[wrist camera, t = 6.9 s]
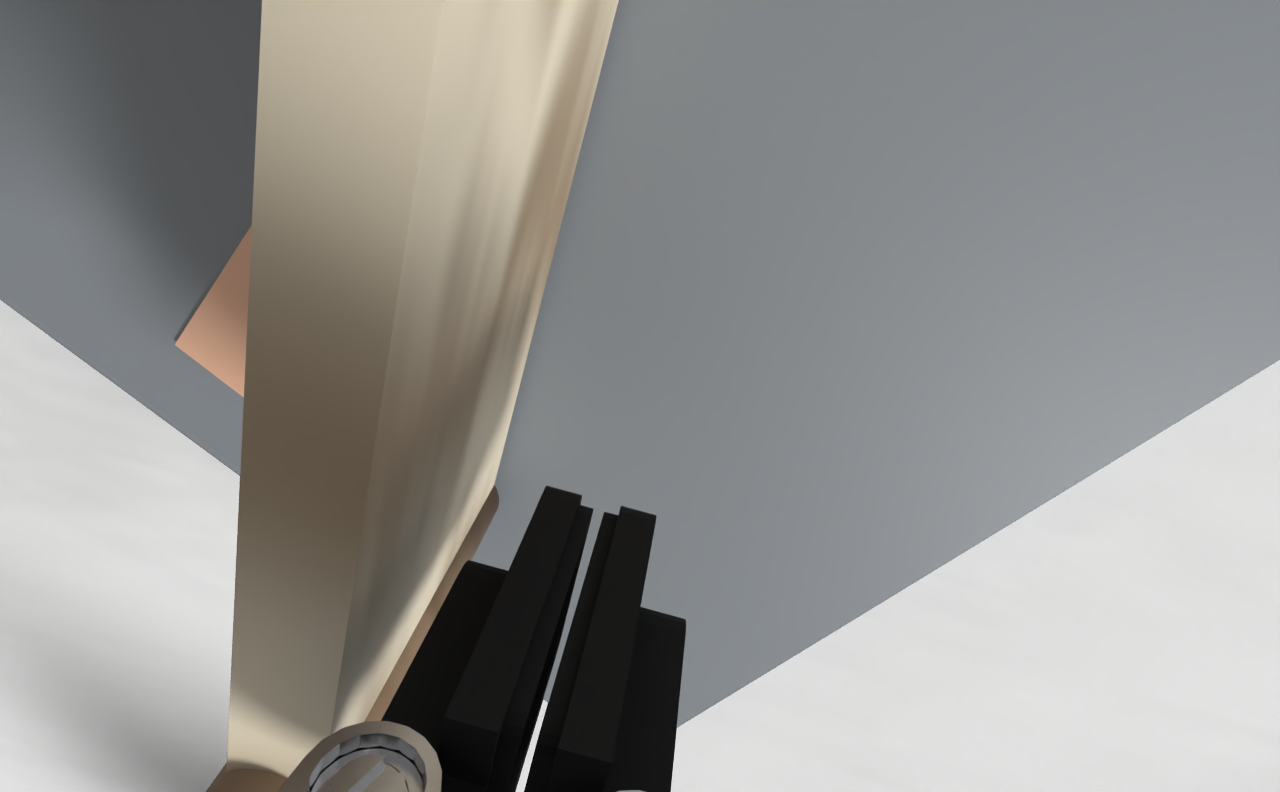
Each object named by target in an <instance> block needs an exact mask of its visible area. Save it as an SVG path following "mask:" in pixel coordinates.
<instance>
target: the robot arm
mask: <svg viewBox="0 0 1280 792" xmlns="http://www.w3.org/2000/svg"><path fill="white" fill-rule="evenodd" d="M581 500H582V495H580V494H576V493H572V492H569V491H565V490H561V489H558V488H554V487H550V486H546V487H545V489H544V491H543V493H542V495H541V498H540V500H539V502H538V504H537V507H536V509H535V511H534V514H533V516H532V518H531V520H530V523H529V525H528V527H527V530H526V532H525V534H524V536H523V539H522V541H521V543H520V545H519V548H518V550H517V552H516V555H515V557H514V559H513V561H512V564H511V566H510V568H509V571H507V570H504V569H500V568H496V567H493V566H489V565H485V564H482V563H478V562H474V561H471V560H468V561H467V562H466V563H465V564H464V565H463V567H462V569H461V570H460V572H459V574H458V576H457V578H456V580H455V581H454V583H453V585H452V587H451V589H450V591H449V593H448V595H447V597H446V598H445V600H444V602H443V604H442V606H441V608H440V610H439V612H438V614H437V615H436V617H435V619H434V621H433V623H432V625H431V627H430V629H429V631H428V633H427V634H426V636H425V638H424V640H423V642H422V644H421V646H420V648H419V650H418V651H417V653H416V655H415V657H414V659H413V661H412V663H411V665H410V667H409V669H408V670H407V672H406V674H405V676H404V678H403V680H402V682H401V684H400V686H399V687H398V689H397V691H396V693H395V695H394V697H393V699H392V701H391V703H390V704H389V706H388V708H387V710H386V712H385V714H384V716H383V718H382V720H381V721H365V722H362V723H358V724H355V725H351V726H347V727H344V728H342V729H340V730H338V731H337V732H335V733H333V734H331V735H329V736H328V737H326V738H324V739H323V740H322V741H321V742H319V743H318V744H317V745H316V746H315V747H314V748H313V749H312V750H311V751H310V752H309V753H308V754H307V755H306V756H305V757H304V758H303V760H302V761H301V762H300V763H299V765H298V766H297V767H296V768H295V770H294V771H293V772H292V773H291V774H290V776H289V777H288V778H287V779H286V781H285V782H284V783H283V784H282V786H281V787H280V788H279V789H278V791H277V792H515V791H516V788H517V784H518V781H519V778H520V774H521V771H522V768H523V764H524V761H525V758H526V754H527V751H528V748H529V745H530V741H531V738H532V735H533V731H534V728H535V725H536V721H537V718H538V715H539V711H540V708H541V705H542V702H543V698H544V695H545V692H546V688H547V685H548V682H549V678H550V675H551V672H552V668H553V665H554V662H555V658H556V655H557V651H558V648H559V644H560V640H561V637H562V633H563V629H564V625H565V621H566V617H567V613H568V609H569V605H570V601H571V597H572V593H573V589H574V585H575V581H576V577H577V573H578V570H579V566H580V562H581V558H582V554H583V550H584V546H585V542H586V538H587V534H588V530H589V526H590V522H591V518H592V514H593V510H594V509H593V508H589V507H586V506H582V505H581ZM656 517H657V516H656V515H654V514H650V513H646V512H643V511H639V510H635V509H632V508H628V507H624V506H621V507H620V511H619V515H615V514H612V513H608V512H604V514H603V517H602V521H601V524H600V527H599V531H598V534H597V538H596V541H595V545H594V548H593V551H592V555H591V558H590V562H589V565H588V569H587V572H586V575H585V579H584V582H583V586H582V589H581V593H580V596H579V599H578V603H577V606H576V610H575V613H574V617H573V620H572V623H571V627H570V630H569V634H568V637H567V641H566V644H565V647H564V651H563V654H562V658H561V661H560V665H559V668H558V671H557V675H556V678H555V682H554V685H553V688H552V692H551V695H550V699H549V702H548V706H547V709H546V712H545V716H544V719H543V723H542V726H541V730H540V734H539V737H538V741H537V745H536V748H535V752H534V756H533V760H532V763H531V767H530V771H529V775H528V779H527V783H526V787H525V791H524V792H670V791H671V780H672V770H673V760H674V750H675V739H676V729H677V719H678V708H679V698H680V688H681V678H682V667H683V657H684V647H685V636H686V619H683V618H680V617H676V616H672V615H669V614H665V613H661V612H658V611H654V610H650V609H647V608H643V607H641V601H642V596H643V590H644V584H645V579H646V573H647V568H648V562H649V557H650V551H651V546H652V540H653V535H654V529H655V524H656Z"/></svg>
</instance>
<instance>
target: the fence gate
mask: <svg viewBox="0 0 1280 792" xmlns="http://www.w3.org/2000/svg"><path fill="white" fill-rule="evenodd" d="M618 1H619V0H262V14H261V36H260V57H259V79H258V101H257V122H256V144H255V166H254V187H253V209H252V231H251V253H250V274H249V296H248V318H247V339H246V361H245V383H244V404H243V426H242V448H241V470H240V491H239V513H238V535H237V556H236V578H235V600H234V621H233V643H232V665H231V687H230V708H229V730H228V752H227V763H226V764H225V766H224V767H223V769H222V770H221V771H220V773H219V774H218V776H217V777H216V778H215V780H214V781H213V783H212V784H211V786H210V787H209V788H208V790H207V791H206V792H277V791H278V789H279V788H280V787H281V786H282V784H283V783H284V782H285V781H286V779H287V778H288V777H289V776H290V774H291V773H292V772H293V771H294V770H295V768H296V767H297V766H298V765H299V763H300V762H301V761H302V760H303V758H304V757H305V756H306V755H307V754H308V753H309V752H310V751H311V750H312V749H313V748H314V747H315V746H316V745H317V744H318V743H319V742H321V741H322V740H323V739H324V738H326V737H328V736H329V735H331V734H333V733H335V732H337V731H338V730H340V729H342V728H344V727H347V726H351V725H355V724H358V723H362V722H365V721H381V720H382V718H383V716H384V714H385V712H386V710H387V708H388V706H389V704H390V703H391V701H392V699H393V697H394V695H395V693H396V691H397V689H398V687H399V686H400V684H401V682H402V680H403V678H404V676H405V674H406V672H407V670H408V669H409V667H410V665H411V663H412V661H413V659H414V657H415V655H416V653H417V651H418V650H419V648H420V646H421V644H422V642H423V640H424V638H425V636H426V634H427V633H428V631H429V629H430V627H431V625H432V623H433V621H434V619H435V617H436V615H437V614H438V612H439V610H440V608H441V606H442V604H443V602H444V600H445V598H446V597H447V595H448V593H449V591H450V589H451V587H452V585H453V583H454V581H455V580H456V578H457V576H458V574H459V572H460V570H461V569H462V567H463V565H464V564H465V563H466V562H467V561H468V560H472V558H473V556H474V554H475V552H476V550H477V549H478V547H479V545H480V543H481V541H482V539H483V537H484V535H485V533H486V531H487V529H488V527H489V525H490V523H491V521H492V519H493V517H494V515H495V513H496V512H497V509H498V506H499V495H498V491H497V489H496V486H495V485H494V484H495V480H496V476H497V472H498V468H499V464H500V460H501V457H502V453H503V449H504V445H505V441H506V437H507V433H508V429H509V425H510V422H511V418H512V414H513V410H514V406H515V402H516V398H517V394H518V390H519V387H520V383H521V379H522V375H523V371H524V367H525V363H526V359H527V355H528V352H529V348H530V344H531V340H532V336H533V332H534V328H535V324H536V320H537V317H538V313H539V309H540V305H541V301H542V297H543V293H544V289H545V285H546V281H547V278H548V274H549V270H550V266H551V262H552V258H553V254H554V250H555V246H556V243H557V239H558V235H559V231H560V227H561V223H562V219H563V215H564V211H565V208H566V204H567V200H568V196H569V192H570V188H571V184H572V180H573V176H574V173H575V169H576V165H577V161H578V157H579V153H580V149H581V145H582V141H583V138H584V134H585V130H586V126H587V122H588V118H589V114H590V110H591V106H592V103H593V99H594V95H595V91H596V87H597V83H598V79H599V75H600V71H601V67H602V64H603V60H604V56H605V52H606V48H607V44H608V40H609V36H610V32H611V29H612V25H613V21H614V17H615V13H616V9H617V5H618Z"/></svg>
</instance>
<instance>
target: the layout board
mask: <svg viewBox="0 0 1280 792" xmlns="http://www.w3.org/2000/svg"><path fill="white" fill-rule="evenodd" d="M261 14H262V0H0V300H1V301H3V302H4V303H6V304H7V305H8V306H10V307H11V308H12V309H14V310H15V311H16V312H18V313H19V314H20V315H22V316H23V317H25V318H26V319H27V320H29V321H30V322H31V323H33V324H34V325H35V326H37V327H38V328H40V329H41V330H42V331H44V332H45V333H46V334H48V335H49V336H50V337H52V338H53V339H54V340H56V341H57V342H59V343H60V344H61V345H63V346H64V347H65V348H67V349H68V350H69V351H71V352H72V353H74V354H75V355H76V356H78V357H79V358H80V359H82V360H83V361H84V362H86V363H87V364H88V365H90V366H91V367H93V368H94V369H95V370H97V371H98V372H99V373H101V374H102V375H103V376H105V377H106V378H108V379H109V380H110V381H112V382H113V383H114V384H116V385H117V386H118V387H120V388H121V389H122V390H124V391H125V392H127V393H128V394H129V395H131V396H132V397H133V398H135V399H136V400H137V401H139V402H140V403H142V404H143V405H144V406H146V407H147V408H148V409H150V410H151V411H152V412H154V413H155V414H156V415H158V416H159V417H161V418H162V419H163V420H165V421H166V422H167V423H169V424H170V425H171V426H173V427H174V428H176V429H177V430H178V431H180V432H181V433H182V434H184V435H185V436H186V437H188V438H189V439H190V440H192V441H193V442H195V443H196V444H197V445H199V446H200V447H201V448H203V449H204V450H205V451H207V452H208V453H209V454H211V455H212V456H214V457H215V458H216V459H218V460H219V461H220V462H222V463H223V464H224V465H226V466H227V467H229V468H230V469H231V470H233V471H234V472H235V473H237V474H238V475H239V476H240V470H241V448H242V426H243V404H244V383H245V361H246V339H247V318H248V296H249V274H250V253H251V231H252V209H253V187H254V166H255V144H256V122H257V101H258V79H259V57H260V36H261ZM1278 360H1280V0H619V1H618V5H617V9H616V13H615V17H614V21H613V25H612V29H611V32H610V36H609V40H608V44H607V48H606V52H605V56H604V60H603V64H602V67H601V71H600V75H599V79H598V83H597V87H596V91H595V95H594V99H593V103H592V106H591V110H590V114H589V118H588V122H587V126H586V130H585V134H584V138H583V141H582V145H581V149H580V153H579V157H578V161H577V165H576V169H575V173H574V176H573V180H572V184H571V188H570V192H569V196H568V200H567V204H566V208H565V211H564V215H563V219H562V223H561V227H560V231H559V235H558V239H557V243H556V246H555V250H554V254H553V258H552V262H551V266H550V270H549V274H548V278H547V281H546V285H545V289H544V293H543V297H542V301H541V305H540V309H539V313H538V317H537V320H536V324H535V328H534V332H533V336H532V340H531V344H530V348H529V352H528V355H527V359H526V363H525V367H524V371H523V375H522V379H521V383H520V387H519V390H518V394H517V398H516V402H515V406H514V410H513V414H512V418H511V422H510V425H509V429H508V433H507V437H506V441H505V445H504V449H503V453H502V457H501V460H500V464H499V468H498V472H497V476H496V480H495V484H494V485H495V486H496V489H497V491H498V495H499V506H498V509H497V512H496V513H495V515H494V517H493V519H492V521H491V523H490V525H489V527H488V529H487V531H486V533H485V535H484V537H483V539H482V541H481V543H480V545H479V547H478V549H477V550H476V552H475V554H474V556H473V558H472V560H471V561H474V562H478V563H482V564H485V565H489V566H493V567H496V568H500V569H504V570H507V571H509V568H510V566H511V564H512V561H513V559H514V557H515V555H516V552H517V550H518V548H519V545H520V543H521V541H522V539H523V536H524V534H525V532H526V530H527V527H528V525H529V523H530V520H531V518H532V516H533V514H534V511H535V509H536V507H537V504H538V502H539V500H540V498H541V495H542V493H543V491H544V489H545V487H546V486H550V487H554V488H558V489H561V490H565V491H569V492H572V493H576V494H580V495H582V500H581V505H582V506H586V507H589V508H593V509H594V510H593V514H592V518H591V522H590V526H589V530H588V534H587V538H586V542H585V546H584V550H583V554H582V558H581V562H580V566H579V570H578V573H577V577H576V581H575V585H574V589H573V593H572V597H571V601H570V605H569V609H568V613H567V617H566V621H565V625H564V629H563V633H562V637H561V640H560V644H559V648H558V651H557V655H556V658H555V662H554V665H553V668H552V672H551V675H550V678H549V682H548V685H547V688H546V692H545V695H544V698H543V699H544V700H545V701H547V702H549V699H550V695H551V692H552V688H553V685H554V682H555V678H556V675H557V671H558V668H559V665H560V661H561V658H562V654H563V651H564V647H565V644H566V641H567V637H568V634H569V630H570V627H571V623H572V620H573V617H574V613H575V610H576V606H577V603H578V599H579V596H580V593H581V589H582V586H583V582H584V579H585V575H586V572H587V569H588V565H589V562H590V558H591V555H592V551H593V548H594V545H595V541H596V538H597V534H598V531H599V527H600V524H601V521H602V517H603V514H604V512H608V513H612V514H615V515H619V511H620V507H621V506H624V507H628V508H632V509H635V510H639V511H643V512H646V513H650V514H654V515H656V516H657V517H656V524H655V529H654V535H653V540H652V546H651V551H650V557H649V562H648V568H647V573H646V579H645V584H644V590H643V596H642V601H641V607H643V608H647V609H650V610H654V611H658V612H661V613H665V614H669V615H672V616H676V617H680V618H683V619H686V636H685V647H684V657H683V667H682V678H681V688H680V698H679V708H678V719H677V727H679V726H680V725H682V724H684V723H685V722H687V721H689V720H690V719H692V718H693V717H695V716H697V715H698V714H700V713H702V712H703V711H705V710H707V709H708V708H710V707H712V706H713V705H715V704H716V703H718V702H720V701H721V700H723V699H725V698H726V697H728V696H730V695H731V694H733V693H734V692H736V691H738V690H739V689H741V688H743V687H744V686H746V685H748V684H749V683H751V682H752V681H754V680H756V679H757V678H759V677H761V676H762V675H764V674H766V673H767V672H769V671H771V670H772V669H774V668H775V667H777V666H779V665H780V664H782V663H784V662H785V661H787V660H789V659H790V658H792V657H793V656H795V655H797V654H798V653H800V652H802V651H803V650H805V649H807V648H808V647H810V646H811V645H813V644H815V643H816V642H818V641H820V640H821V639H823V638H825V637H826V636H828V635H829V634H831V633H833V632H834V631H836V630H838V629H839V628H841V627H843V626H844V625H846V624H848V623H849V622H851V621H852V620H854V619H856V618H857V617H859V616H861V615H862V614H864V613H866V612H867V611H869V610H870V609H872V608H874V607H875V606H877V605H879V604H880V603H882V602H884V601H885V600H887V599H888V598H890V597H892V596H893V595H895V594H897V593H898V592H900V591H902V590H903V589H905V588H907V587H908V586H910V585H911V584H913V583H915V582H916V581H918V580H920V579H921V578H923V577H925V576H926V575H928V574H929V573H931V572H933V571H934V570H936V569H938V568H939V567H941V566H943V565H944V564H946V563H947V562H949V561H951V560H952V559H954V558H956V557H957V556H959V555H961V554H962V553H964V552H965V551H967V550H969V549H970V548H972V547H974V546H975V545H977V544H979V543H980V542H982V541H984V540H985V539H987V538H988V537H990V536H992V535H993V534H995V533H997V532H998V531H1000V530H1002V529H1003V528H1005V527H1006V526H1008V525H1010V524H1011V523H1013V522H1015V521H1016V520H1018V519H1020V518H1021V517H1023V516H1024V515H1026V514H1028V513H1029V512H1031V511H1033V510H1034V509H1036V508H1038V507H1039V506H1041V505H1043V504H1044V503H1046V502H1047V501H1049V500H1051V499H1052V498H1054V497H1056V496H1057V495H1059V494H1061V493H1062V492H1064V491H1065V490H1067V489H1069V488H1070V487H1072V486H1074V485H1075V484H1077V483H1079V482H1080V481H1082V480H1083V479H1085V478H1087V477H1088V476H1090V475H1092V474H1093V473H1095V472H1097V471H1098V470H1100V469H1101V468H1103V467H1105V466H1106V465H1108V464H1110V463H1111V462H1113V461H1115V460H1116V459H1118V458H1120V457H1121V456H1123V455H1124V454H1126V453H1128V452H1129V451H1131V450H1133V449H1134V448H1136V447H1138V446H1139V445H1141V444H1142V443H1144V442H1146V441H1147V440H1149V439H1151V438H1152V437H1154V436H1156V435H1157V434H1159V433H1160V432H1162V431H1164V430H1165V429H1167V428H1169V427H1170V426H1172V425H1174V424H1175V423H1177V422H1179V421H1180V420H1182V419H1183V418H1185V417H1187V416H1188V415H1190V414H1192V413H1193V412H1195V411H1197V410H1198V409H1200V408H1201V407H1203V406H1205V405H1206V404H1208V403H1210V402H1211V401H1213V400H1215V399H1216V398H1218V397H1219V396H1221V395H1223V394H1224V393H1226V392H1228V391H1229V390H1231V389H1233V388H1234V387H1236V386H1237V385H1239V384H1241V383H1242V382H1244V381H1246V380H1247V379H1249V378H1251V377H1252V376H1254V375H1256V374H1257V373H1259V372H1260V371H1262V370H1264V369H1265V368H1267V367H1269V366H1270V365H1272V364H1274V363H1275V362H1277V361H1278Z"/></svg>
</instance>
